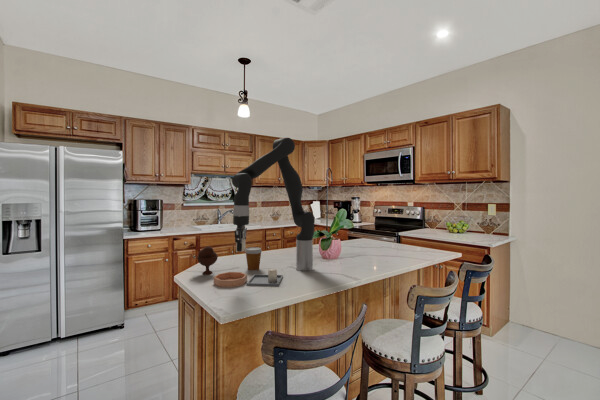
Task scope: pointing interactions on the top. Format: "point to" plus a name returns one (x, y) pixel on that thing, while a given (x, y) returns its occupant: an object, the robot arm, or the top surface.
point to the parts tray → (263, 280)
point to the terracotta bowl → (230, 279)
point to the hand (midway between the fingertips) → (240, 250)
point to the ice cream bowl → (207, 258)
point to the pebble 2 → (272, 275)
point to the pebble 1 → (242, 245)
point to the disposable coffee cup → (253, 258)
